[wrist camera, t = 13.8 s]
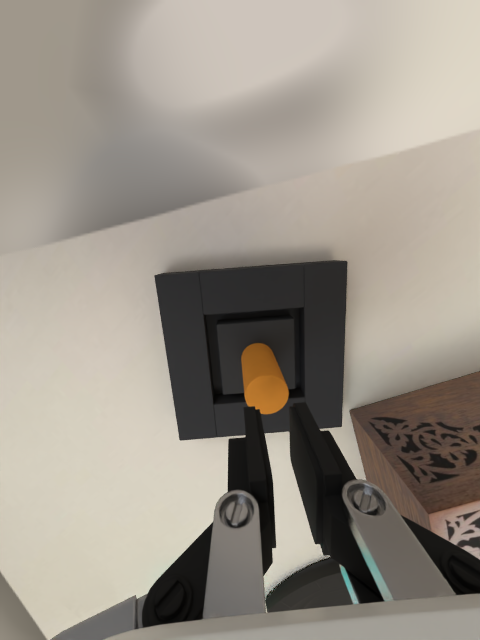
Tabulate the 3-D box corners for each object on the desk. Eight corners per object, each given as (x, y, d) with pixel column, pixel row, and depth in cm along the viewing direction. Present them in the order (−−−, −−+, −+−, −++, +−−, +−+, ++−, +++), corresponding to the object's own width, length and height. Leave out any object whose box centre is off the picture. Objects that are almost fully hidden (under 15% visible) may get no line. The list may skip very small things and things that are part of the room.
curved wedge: (257, 569, 29) (259, 587, 27) (375, 548, 29) (383, 565, 27) (269, 617, 31) (271, 636, 29) (378, 598, 31) (386, 616, 29)
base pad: (162, 273, 20) (154, 275, 18) (334, 260, 21) (347, 260, 18) (184, 422, 24) (179, 440, 22) (331, 410, 24) (342, 427, 22)
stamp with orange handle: (217, 319, 21) (210, 351, 14) (290, 314, 21) (318, 342, 14) (223, 385, 22) (220, 443, 15) (291, 380, 22) (317, 434, 16)
